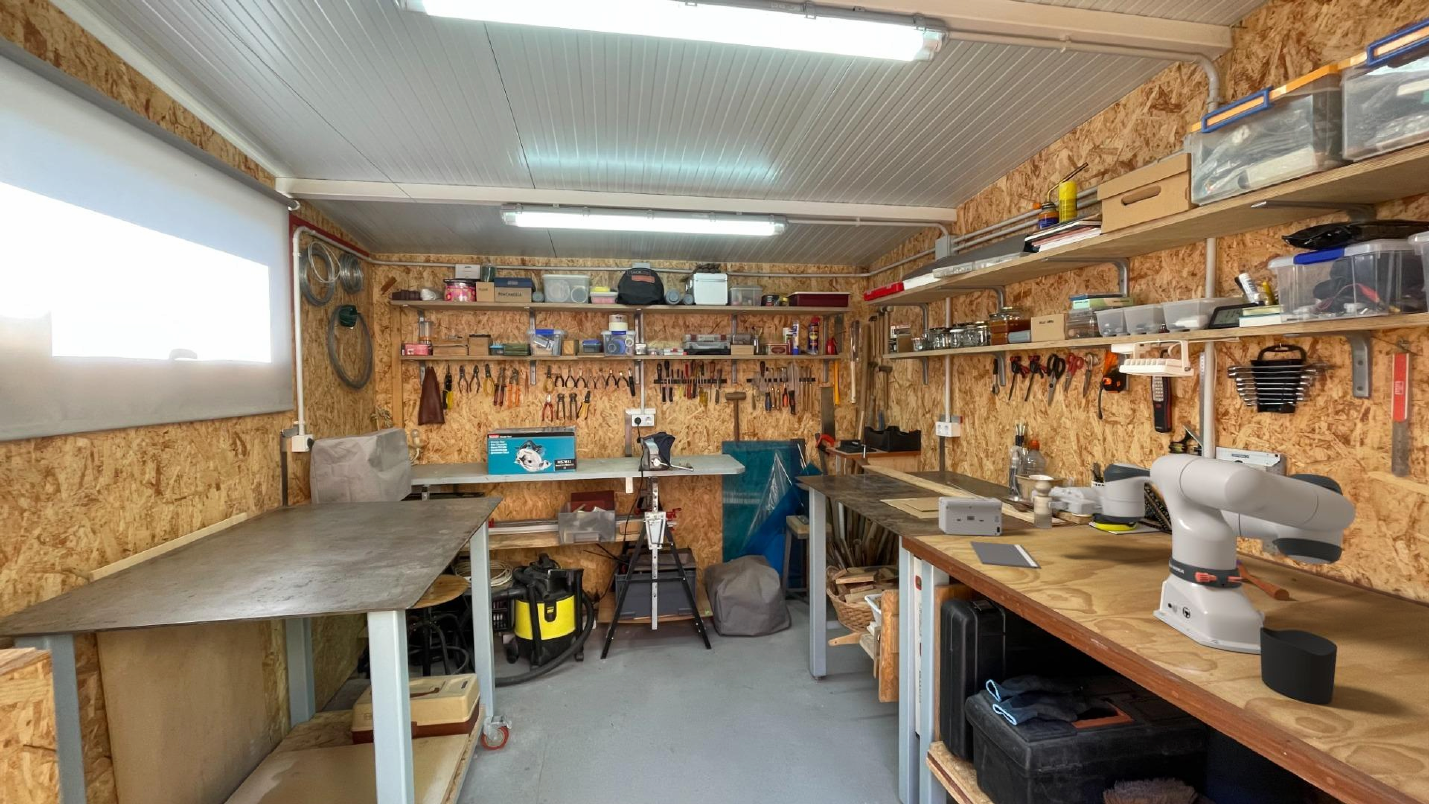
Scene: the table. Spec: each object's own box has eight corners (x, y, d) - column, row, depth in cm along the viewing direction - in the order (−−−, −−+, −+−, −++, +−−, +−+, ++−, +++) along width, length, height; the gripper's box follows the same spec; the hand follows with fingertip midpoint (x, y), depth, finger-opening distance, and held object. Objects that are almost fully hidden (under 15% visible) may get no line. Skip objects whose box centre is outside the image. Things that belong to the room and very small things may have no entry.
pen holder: (1332, 713, 89) (1334, 656, 89) (1254, 687, 97) (1255, 635, 97) (1338, 693, 95) (1339, 639, 94) (1263, 671, 102) (1265, 621, 102)
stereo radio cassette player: (995, 531, 199) (995, 479, 198) (1004, 537, 191) (1004, 483, 190) (938, 529, 202) (938, 478, 201) (944, 535, 194) (944, 482, 193)
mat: (1040, 568, 159) (1040, 566, 159) (982, 563, 164) (982, 561, 164) (1021, 546, 180) (1021, 545, 180) (970, 543, 185) (970, 541, 185)
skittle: (1054, 529, 166) (1054, 482, 165) (1036, 528, 167) (1036, 481, 167) (1049, 525, 170) (1049, 479, 170) (1032, 524, 172) (1032, 478, 171)
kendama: (1266, 585, 135) (1208, 554, 154) (1269, 607, 135) (1211, 573, 155) (1293, 582, 133) (1231, 551, 153) (1296, 604, 134) (1234, 570, 154)
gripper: (1106, 518, 160) (1066, 520, 158) (1053, 503, 180) (1017, 505, 178) (1106, 497, 160) (1066, 500, 158) (1054, 485, 180) (1018, 486, 178)
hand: (1040, 502), depth 168 cm, fingers closed on skittle, 5 cm apart
